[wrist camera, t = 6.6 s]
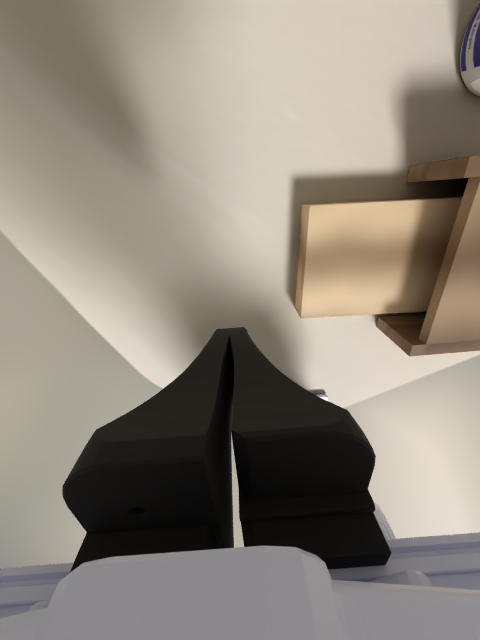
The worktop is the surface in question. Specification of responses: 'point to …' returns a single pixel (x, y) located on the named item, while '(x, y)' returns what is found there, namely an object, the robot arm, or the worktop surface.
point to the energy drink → (471, 54)
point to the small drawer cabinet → (448, 275)
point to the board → (372, 255)
